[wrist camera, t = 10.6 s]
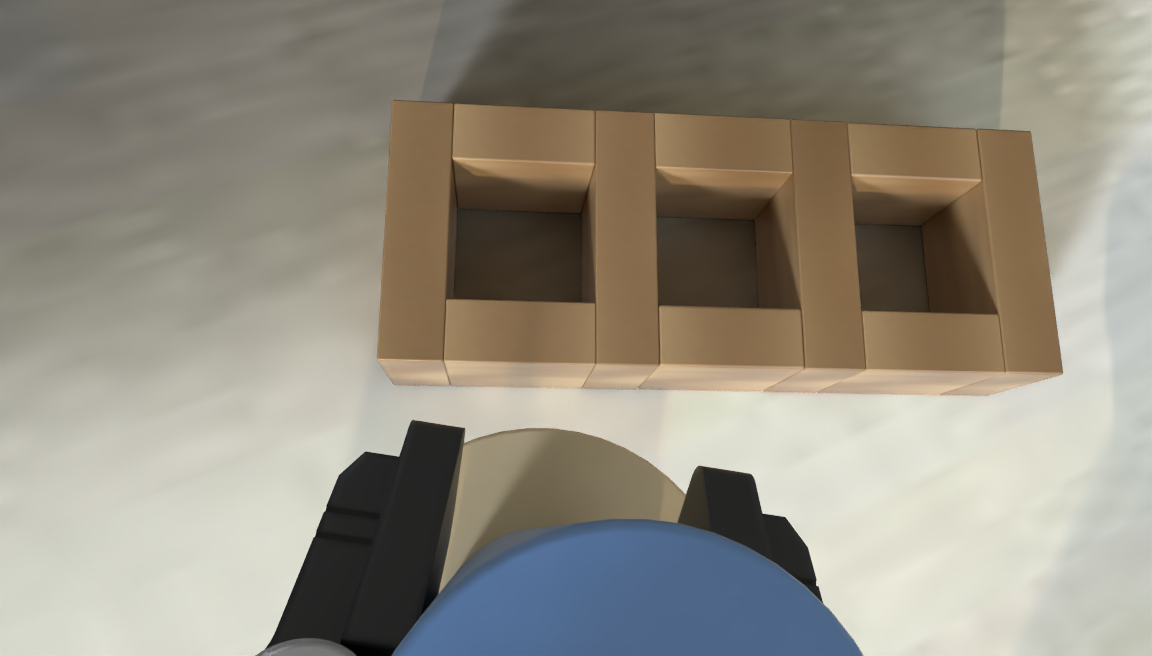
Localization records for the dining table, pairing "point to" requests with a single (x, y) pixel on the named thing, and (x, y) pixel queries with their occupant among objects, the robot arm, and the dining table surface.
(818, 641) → the peg
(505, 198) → the rack
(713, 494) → the robot arm
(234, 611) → the dining table surface
